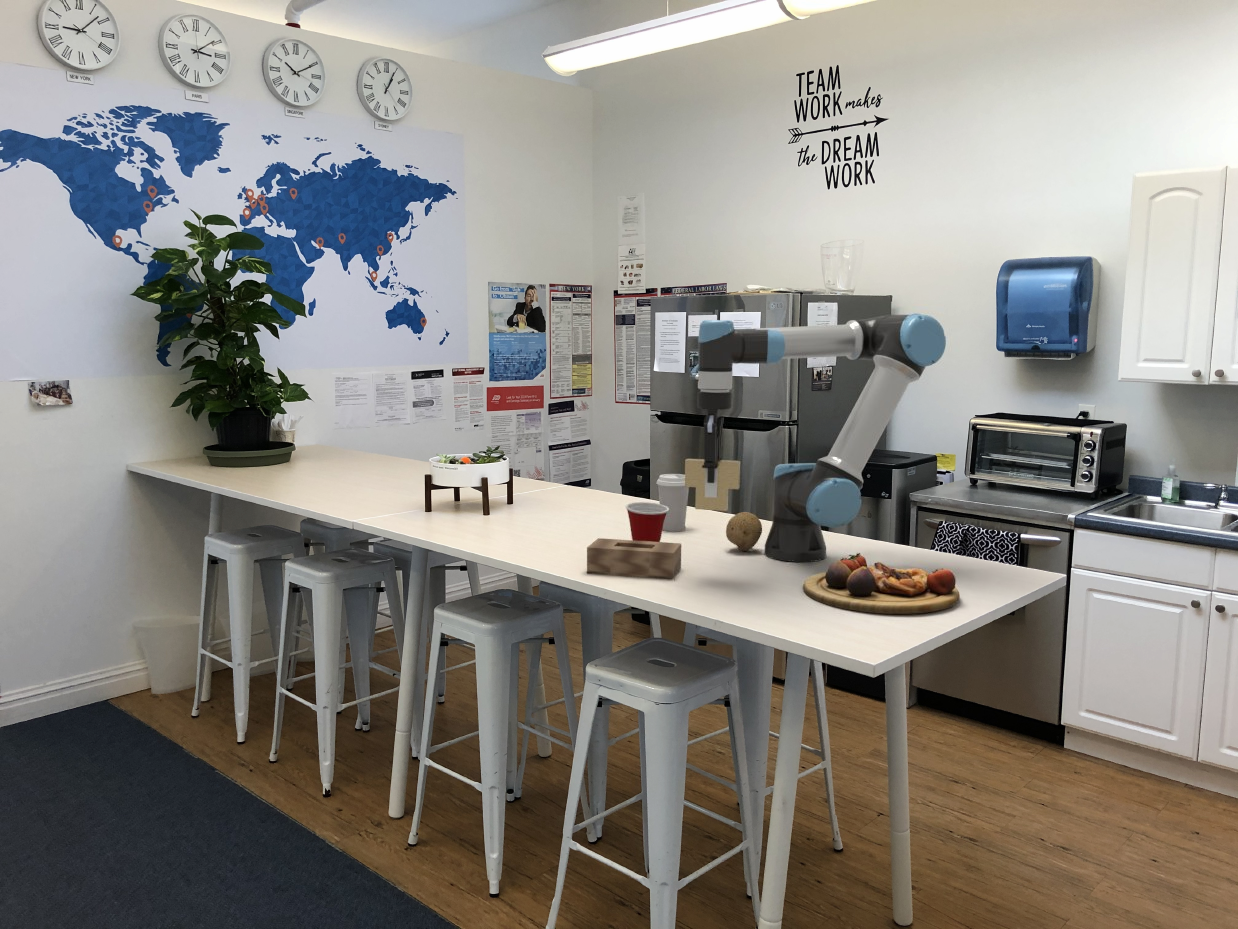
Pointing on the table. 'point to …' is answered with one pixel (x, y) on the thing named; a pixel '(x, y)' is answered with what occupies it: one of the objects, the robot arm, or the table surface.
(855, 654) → the table surface
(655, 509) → the plastic cup
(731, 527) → the natural sponge
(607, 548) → the slotted block
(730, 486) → the light wooden block
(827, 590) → the wooden plate with food
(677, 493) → the coffee cup
